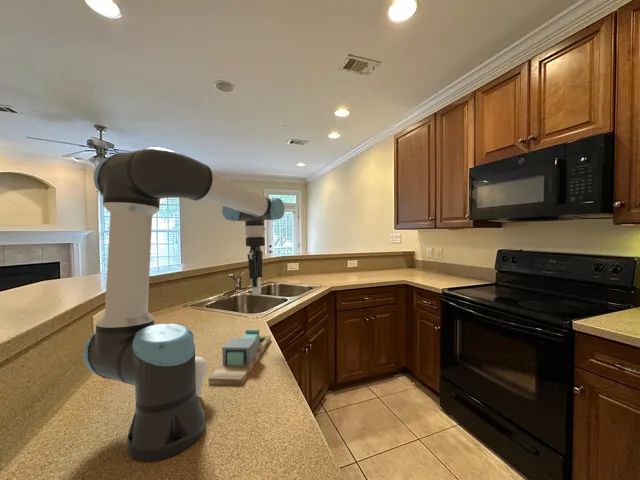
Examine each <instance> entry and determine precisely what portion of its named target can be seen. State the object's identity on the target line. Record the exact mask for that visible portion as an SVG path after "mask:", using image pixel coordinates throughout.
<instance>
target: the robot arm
mask: <svg viewBox="0 0 640 480" xmlns="http://www.w3.org/2000/svg"><path fill="white" fill-rule="evenodd" d="M93 183H94V186H95V188H96V190H97V191H98V192H99V193H100V195H101V197H102V206H103V207H104V208H105V210H107V211H108V212H109V214H110V215H109V230H108V231H109V233H108V247H107V248H108V250H107V251H108V252H107V268H106V287H105V288H106V289H105V304H104V306H105V307H104V315H103V316H102V317H101V318H100V319H98V321H96V322H95V331H94V332H93V333H92V334H91V336H90V337H89V338H88V339H87V341H86V342H85V345H84V348H83V353H82V354H83V362H84V364H85V366H86V367H87V369H88V370H89V371H90V372H92V373H94V374H95V375H96V376H99V377H101V379H102V378H103V379H106V380H114V381H115V382H116V381H118V382H120V383H124V384H127V385H132V386H134V390H135V391H134V394H135V412H134V415H133V418H132V420H131V423H130V427H129V430H128V434H127V437H126V443H127V444H126V447H127V448H126V449H127V450H126V451H127V454H128V455H129V457H131V458H132V459H133V460H135V459H136V461H139V460H140V462H155V461H154V460H157V461H160V460H165V459H168V458H170V456H171V457H173V456H176V455H178V454H180V453H181V451H182V452H184V451H185V450H186V449H188V448H189V447H191V446H192V445H194V444H195V443H196V442H197V441H198V440H199V438H200V437H201V436H202V435H203V433H204V432H205V429H206V415H205V411H204V409H203V406H202V404H201V402H200V400H199V397H198V396H197V394H196V376H195V357H196V344H195V337H194V333H193V331H192V330H191V329H190V328H189V327H187V326H185V325H182V324H179V323H158V324H157V323H156V324H155V316H154V315H152V314H151V313H150V312H149V296H150V295H149V293H150V292H149V291H150V289H149V288H150V272H151V269H150V268H151V267H150V266H151V249H152V225H153V224H152V223H153V216H155V214H157V213H158V212H159V211H160V205H161V204H160V201H161V199H167V198H168V199H169V198H178V199H179V198H182V199H188V200H191V201H197V202H198V201H202V200H204V201H207V202H209V203H213V204H216V205H219V206H222V207H221V214H222V216H223V217H224V219H225V220H226V221H231V222H244V223H245V224H244V225H245V230H244V231H245V232H244V234H245V236H246V238H245V246H246V247H249V253H247V260H248V273H249V275H248V276H249V277H248V278H249V280H251V295H252V296H259V295H260V294H262V278H263V276H264V274H263V255H264V252H263V251H262V249H261V247H264V246H265V245H266V244H265V243H266V241H265V238H266V237H264V236H265V231H266V227H265V221H275V220H281V219H282V218H283V217H284V215H285V208H286V207H285V203H284V202H283V200H282V199H281V198H280V197H279V198H278V197H276V198H275V197H271V198H270V197H269V198H268V197H266V196H263V195H262V194H259V193H257V192H255V191H254V190H251V189H249V188H247V187H245V186H244V185H243V186H242V185H240V184H239V183H236V182H234V181H232V180H230V179H228V178H225V177H224V176H222V175H219V174H217V173H215V172H214V171H213V170H212V169H211V167H210V166H209V165H207V164H205V163H204V162H201V161H199V160H197V159H194V158H193V157H190V156H188V155H185V154H182V153H180V152H178V151H173V150H170V149H166V148H162V147H146V148H143V149H138V150H134V151H128V152H117V153H114V154H112V155H109V156H107V157H105V158H104V159H102V160H101V161H100V162H99V163H98V164H97V165H96V167H95V168H94V172H93ZM179 452H180V453H179ZM177 453H178V454H177ZM175 454H176V455H175ZM172 455H173V456H172ZM167 457H168V458H167Z"/></svg>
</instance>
